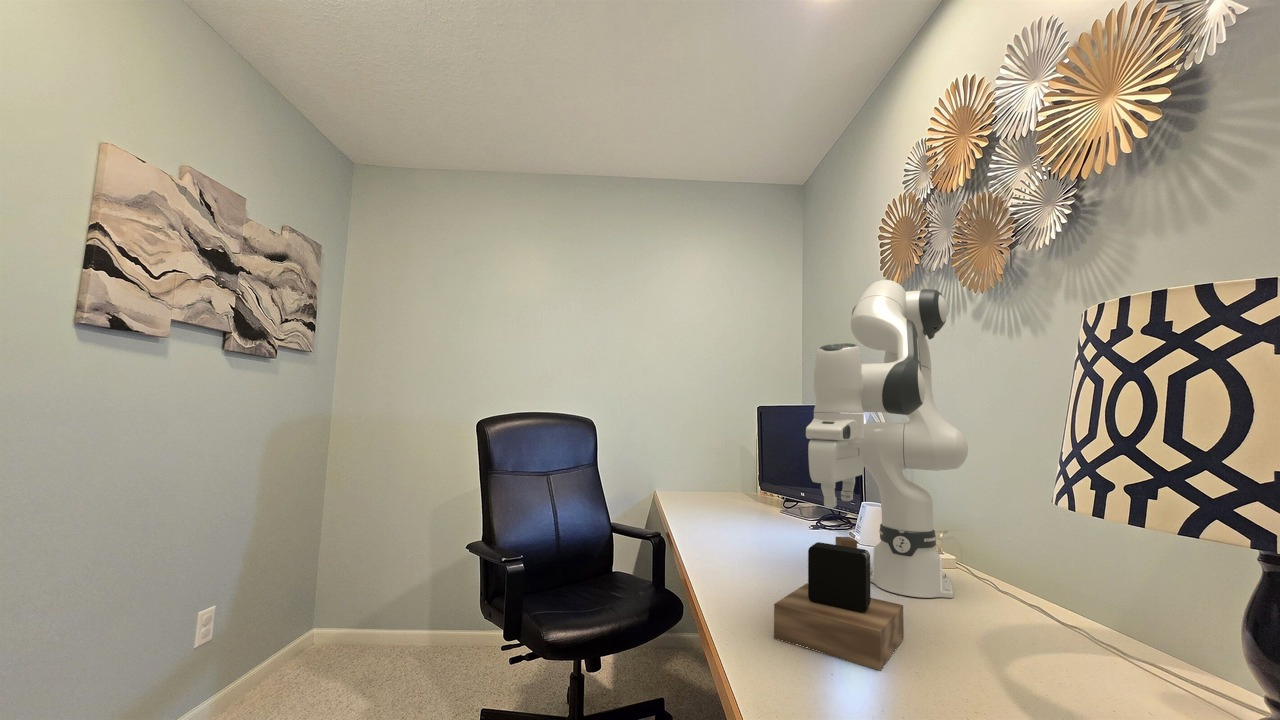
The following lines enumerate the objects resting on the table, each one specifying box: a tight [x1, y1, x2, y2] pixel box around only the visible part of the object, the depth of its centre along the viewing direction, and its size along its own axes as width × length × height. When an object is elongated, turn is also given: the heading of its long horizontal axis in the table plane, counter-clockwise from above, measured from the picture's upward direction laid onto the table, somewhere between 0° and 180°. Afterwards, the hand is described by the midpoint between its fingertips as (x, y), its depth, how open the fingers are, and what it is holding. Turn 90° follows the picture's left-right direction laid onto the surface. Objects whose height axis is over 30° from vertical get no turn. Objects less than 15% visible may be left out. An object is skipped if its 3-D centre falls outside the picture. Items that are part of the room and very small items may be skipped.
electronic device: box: [807, 541, 871, 613], centre depth 98 cm, size 4×10×10 cm, turn 57°
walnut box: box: [773, 582, 905, 672], centre depth 97 cm, size 16×18×6 cm
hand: (839, 503), depth 99 cm, fingers open, 8 cm apart
